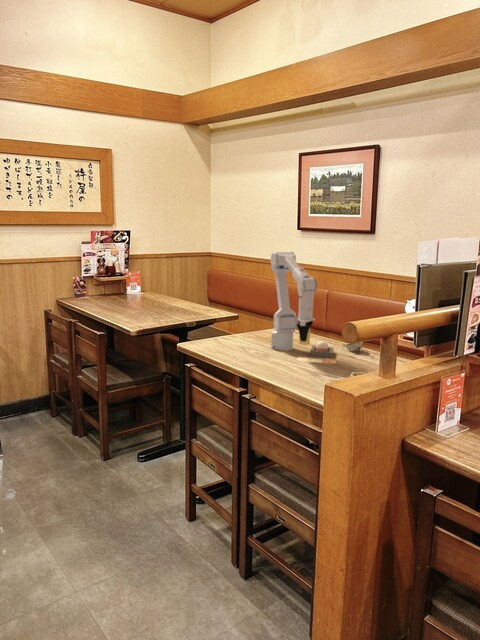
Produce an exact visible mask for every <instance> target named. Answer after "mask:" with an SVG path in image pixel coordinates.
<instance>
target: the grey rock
mask: <svg viewBox="0 0 480 640" xmlns="http://www.w3.org/2000/svg"><path fill="white" fill-rule="evenodd" d="M365 344H366V342H363V341H362V342H360V343H355V344H348V343H346V342H345V344H343V345H342V346H343V347H345V348H347V350H348V351H349V352H350V353H357V352H361V349H362V347H363V345H365Z"/></svg>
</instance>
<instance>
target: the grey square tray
mask: <svg viewBox="0 0 480 640" xmlns="http://www.w3.org/2000/svg"><path fill="white" fill-rule="evenodd" d="M328 347H329V352H328V351H317V350H316V345H312V347H311V349H310V351H309V356H310V357H318V358H319V357H320V358H330V359H332V357H333V354H334V347H333V346H332V347H330V346H328Z"/></svg>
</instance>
